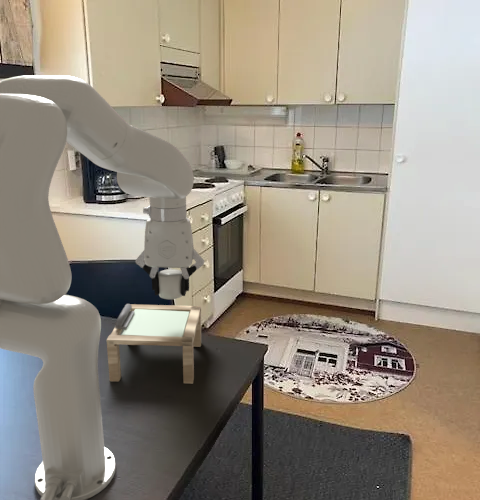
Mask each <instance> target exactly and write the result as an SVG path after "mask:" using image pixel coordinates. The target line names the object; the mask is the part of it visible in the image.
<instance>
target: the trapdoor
mask: <svg viewBox="0 0 480 500" xmlns="http://www.w3.org/2000/svg"><path fill="white" fill-rule="evenodd" d="M131 308H132V306H131V304H130V303H126V304H125V305H124V307H123V308H122V310H121V311H120V313H119V315H118V317H117V319H116V320H115V321H114V328H115V329H123V330H122V332H121V334H120V335H134V336H172V337H183V335H184V332H185V328H186V325H187V321H188V318H189V314H190V313H189V312H188V311H168V310H148V309H135V310H134V311H130V310H131Z"/></svg>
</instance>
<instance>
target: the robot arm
mask: <svg viewBox="0 0 480 500" xmlns="http://www.w3.org/2000/svg"><path fill="white" fill-rule="evenodd" d="M66 143H67V144H69V146H71V147H72V148H74V149H75V150H76V151H78V153H80V154H82V155H83V156H84V157H85V158H86V159H88V160H89V161H91V162H92V163H93V164H94V165H96V166H98V167H100V168H103V169H105V170H108V171H113V172H115V173H116V182H117V184H118V187H119V188H120V190H122V192H124V193H125V194H128V195H130V196H132V197H133V196H134V197H141V198H143V197H144V198H149V206H147V207H145V206H144V207H143V208H142V213H143V214H145V215H148V219H146V222H145V229H144V249H143V251H142V252H141V253H140V254H139V255H138V256H137V257H136V259H135V264H136V265H138V266H139V267H140V268H142V269H143V271H145V273H146V274H148V275H149V278H151V289H152V291H154V296H159V279H158V273H159V268H164V269H165V268H167V269H168V268H169V269H170V268H171V269H179V270H180V271H181V272H182V279H181V293H182V296H181V297H186V294H187V292H189V291H190V277H191V276H192V275H193V274H194V273H195V272H196V271H197V270H199V269H200V268H201V267H203V266H204V265H205V260H204V258H203V257H202V256H201V255H200V254H199V253H198V251H197V250H196V249H195V247H194V238H193V237H194V236H193V230H192V225H191V220H190V218H189V217H187V197H188V195H189V194H191V193H192V189H193V188H194V187H193V186H194V182H195V177H194V171H193V168H192V166H191V164H190V162H189V161H188V159H187V158H186V157H185V155H184V154H183V153H182V152H181V151H180V150H179V149H178V148H177V146H175V145H173V144H171V142H169V141H167V140H165V139H163V138H160V137H158V136H156V135H154V134H152V133H150V132H148V131H146V130H143V129H141V128H139V127H136V126H134V125H131V124H129V123H128V122H127V121H126V120H125V119H124V118H123V117H122V116H121V115H120V114H119V113H118V112H117V110H115V108H113V107H112V106H111V105H110V104H109V102H108V101H107V100H106V99H105V98H103V96H102V95H101V94H100V93H99V92H98V91H97V90H96V89H95V88H94V87H93V86H92V85H91V84H89V83H88V82H87V81H85V80H84V79H81V78H78V77H75V76H71V75H33V74H32V75H18V76H12V77H9V78H4V79H0V349H1V350H5V351H9V352H14V353H19V354H24V355H28V356H31V357H36V358H39V359H40V360H42V367H41V369H40V370H39V371H38V372H37V374H36V376H35V378H34V380H33V387H32V388H33V398H34V403H35V404H34V405H35V412H36V419H37V421H36V422H37V428H38V434H39V442H40V443H39V444H40V449H41V457H42V459H41V460H42V461H41V463H40V464H39V465H38V467H37V469H36V471H35V474H34V487H35V489H36V491H37V494H39V496H40V499H39V500H88V499H90V498H92V497H94V496H96V495H98V494H99V493H100V492H102V491H103V490H105V489H106V487H107V486H108V485H109V484H110V483H111V481H112V479H113V478H114V476H115V475H116V467H117V463H116V458H115V455H114V453H112V451H111V450H110V449H109V448H107V447H105V439H104V438H105V437H104V429H103V428H104V427H103V416H102V415H103V414H102V405H101V404H102V403H101V392H100V381H99V366H98V365H99V360H98V359H99V348H100V347H99V346H100V341H101V339H100V338H101V331H102V330H101V329H102V320H101V315H100V313H99V310H98V309H97V307H96V306H95V305H93V304H92V303H91V302H89V301H87V300H86V299H84V298H81V297H78V296H74V295H69V294H67V293H68V291H69V290H70V287H71V284H72V271H71V265H70V263H69V258H68V256H67V253H66V250H65V247H64V244H63V242H62V239H61V237H60V234H59V230H58V228H57V225H56V223H55V219H54V218H53V214H52V209H51V207H50V201H49V196H50V195H49V193H50V187H51V183H52V180H53V177H54V173H55V171H56V168H57V166H58V165H59V164H58V163H59V161H60V159H61V157H62V154H64V153H63V152H64V151H65V148H66ZM193 260H194V261H195V263H193Z"/></svg>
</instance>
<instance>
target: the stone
mask: <svg viewBox="0 0 480 500" xmlns="http://www.w3.org/2000/svg"><path fill="white" fill-rule="evenodd" d="M182 276H183V274H182V271H181V269H177V268H171V269H170V268H169V269H168V268H167V269H164V270H160V271H158V279H159V294H158V296H159V298H161V299H164V300H177V299H179V298H181V297H183V296H182V293H181V279H182Z"/></svg>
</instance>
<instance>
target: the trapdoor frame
mask: <svg viewBox="0 0 480 500" xmlns="http://www.w3.org/2000/svg"><path fill="white" fill-rule="evenodd" d="M131 306H132V308H131V310H130V311H134V310H135V309H148V310H168V311H188V312H189V318H188V321H187V325H186V328H185V332H184V335H183V337H172V336H134V335H121V334H122V333H123V331H124V329H115V327H114V328H113V330H112V332H111V333H110V334H109V335H108V336H107V338H106V352H107V361H108V362H107V364H108V366H107V367H108V375H109V376H108V377H109V382H120V380H121V378H122V368H121V352H120V345H127V346H160V347H161V346H164V347H165V346H166V347H167V346H168V347H169V346H171V347H182V367H183V368H182V375H183V377H182V379H183V384H190V385H191V384H194V379H195V369H194V368H195V366H194V365H195V361H194V359H195V357H194V355H195V354H194V347H197V348H198V347H199V348H202V347H201V346H202V306H201V305H172V304H171V305H170V304H169V305H166V304H165V305H164V304H159V305H158V304H136V303H134V304H131Z"/></svg>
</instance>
